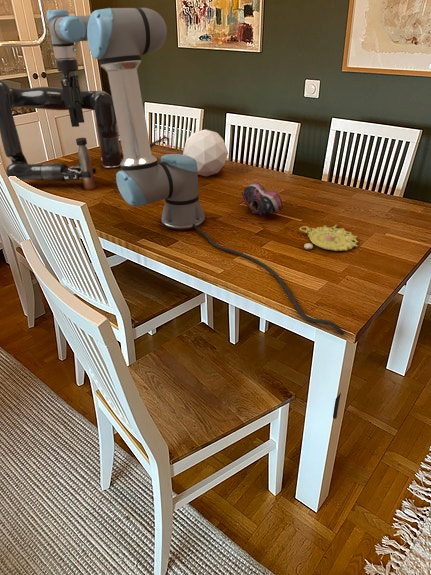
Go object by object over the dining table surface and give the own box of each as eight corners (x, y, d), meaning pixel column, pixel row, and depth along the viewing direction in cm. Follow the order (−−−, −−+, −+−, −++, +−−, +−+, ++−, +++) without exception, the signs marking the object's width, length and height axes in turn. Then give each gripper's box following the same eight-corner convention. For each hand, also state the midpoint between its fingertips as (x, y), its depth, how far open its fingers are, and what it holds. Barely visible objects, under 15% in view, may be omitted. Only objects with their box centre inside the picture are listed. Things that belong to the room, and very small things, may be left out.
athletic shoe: (254, 181, 170) (227, 189, 167) (283, 176, 151) (253, 185, 147) (260, 210, 173) (234, 218, 170) (290, 209, 154) (261, 219, 150)
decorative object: (343, 255, 128) (285, 234, 139) (342, 262, 130) (284, 241, 140) (372, 230, 142) (317, 213, 152) (371, 237, 143) (316, 219, 153)
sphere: (211, 192, 199) (209, 165, 180) (177, 170, 204) (171, 142, 185) (236, 162, 204) (236, 133, 185) (201, 142, 209) (198, 112, 190)
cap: (89, 143, 179) (88, 138, 178) (81, 146, 177) (80, 140, 175) (82, 142, 181) (81, 137, 180) (74, 144, 179) (73, 139, 178)
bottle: (98, 187, 189) (89, 139, 178) (89, 190, 186) (80, 141, 175) (90, 185, 192) (82, 137, 181) (82, 188, 188) (72, 140, 178)
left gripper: (45, 168, 179) (85, 169, 177) (60, 158, 191) (97, 158, 189) (49, 186, 183) (89, 187, 181) (63, 175, 195) (100, 176, 193)
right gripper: (67, 61, 154) (80, 130, 167) (83, 56, 170) (94, 118, 183) (46, 62, 154) (60, 130, 167) (64, 56, 171) (76, 119, 183)
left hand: (93, 172), depth 185 cm, fingers closed on bottle, 4 cm apart
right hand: (78, 124), depth 175 cm, fingers open, 6 cm apart
